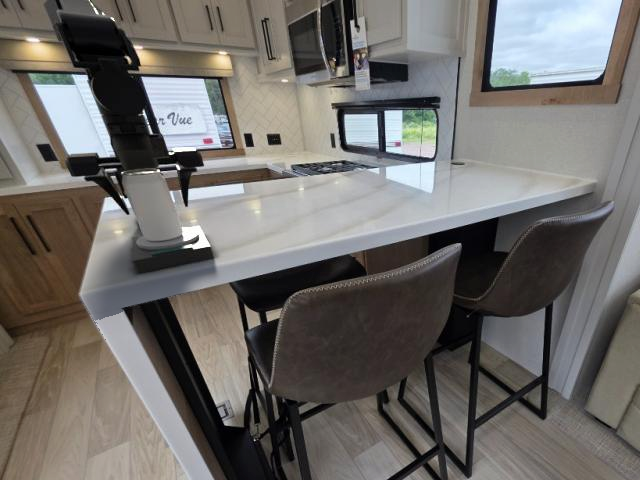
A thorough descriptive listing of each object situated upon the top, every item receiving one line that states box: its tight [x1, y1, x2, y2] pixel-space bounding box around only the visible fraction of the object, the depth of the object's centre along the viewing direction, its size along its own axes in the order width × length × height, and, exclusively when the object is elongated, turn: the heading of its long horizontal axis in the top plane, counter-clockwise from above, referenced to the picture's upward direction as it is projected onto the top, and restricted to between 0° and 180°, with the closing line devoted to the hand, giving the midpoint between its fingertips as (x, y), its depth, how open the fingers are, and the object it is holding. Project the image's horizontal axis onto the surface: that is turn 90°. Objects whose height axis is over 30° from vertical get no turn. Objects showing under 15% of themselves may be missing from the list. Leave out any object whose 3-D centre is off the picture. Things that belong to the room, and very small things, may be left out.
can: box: [121, 169, 183, 242], centre depth 61 cm, size 6×6×12 cm
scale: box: [131, 225, 215, 274], centre depth 64 cm, size 14×12×3 cm
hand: (158, 210), depth 62 cm, fingers open, 9 cm apart
